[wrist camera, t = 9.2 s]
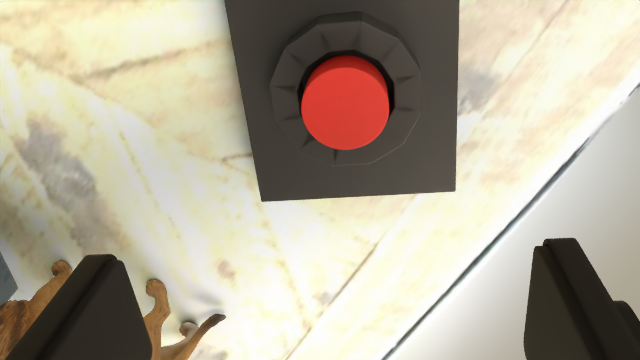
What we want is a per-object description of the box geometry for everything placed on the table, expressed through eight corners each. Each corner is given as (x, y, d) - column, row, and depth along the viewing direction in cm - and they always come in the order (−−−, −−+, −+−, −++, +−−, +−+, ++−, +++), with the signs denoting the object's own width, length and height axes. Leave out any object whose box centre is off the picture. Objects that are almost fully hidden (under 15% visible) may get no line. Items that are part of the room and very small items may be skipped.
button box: (228, -49, 24) (204, -39, 20) (452, -74, 23) (469, -68, 19) (268, 181, 29) (255, 220, 26) (449, 171, 28) (461, 211, 25)
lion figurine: (15, 312, 36) (-82, 430, 28) (-1, 250, 33) (-113, 360, 25) (227, 337, 36) (189, 464, 28) (228, 276, 33) (185, 397, 25)
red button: (300, 58, 22) (295, 71, 21) (385, 51, 22) (387, 63, 20) (310, 136, 24) (306, 152, 22) (389, 130, 24) (391, 147, 22)
